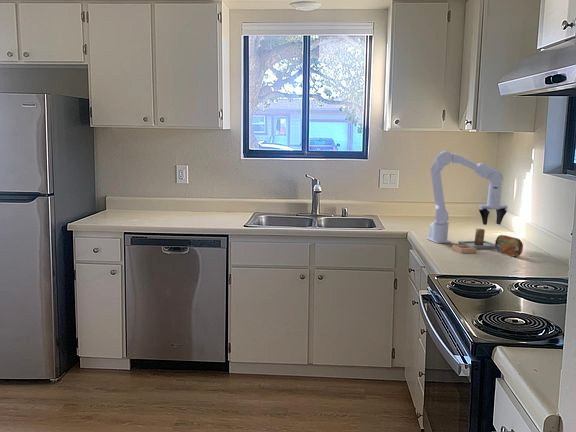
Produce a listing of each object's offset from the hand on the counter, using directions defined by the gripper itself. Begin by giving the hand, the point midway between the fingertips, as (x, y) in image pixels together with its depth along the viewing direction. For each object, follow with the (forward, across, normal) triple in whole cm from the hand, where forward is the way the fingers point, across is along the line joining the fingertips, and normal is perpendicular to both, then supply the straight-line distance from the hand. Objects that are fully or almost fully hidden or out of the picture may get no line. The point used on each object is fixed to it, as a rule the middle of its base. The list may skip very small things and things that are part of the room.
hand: (491, 224), depth 273 cm
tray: (+10, -7, -1) cm, 13 cm away
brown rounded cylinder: (+10, -7, -1) cm, 12 cm away
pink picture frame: (+10, -20, -9) cm, 24 cm away
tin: (+11, -3, -18) cm, 21 cm away
